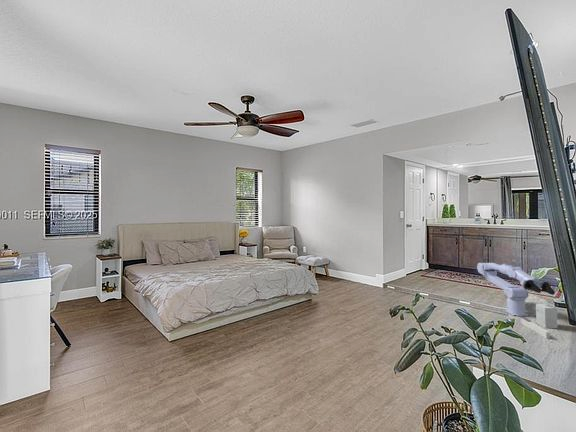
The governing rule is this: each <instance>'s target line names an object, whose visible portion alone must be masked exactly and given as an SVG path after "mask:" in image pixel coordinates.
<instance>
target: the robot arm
mask: <svg viewBox="0 0 576 432" xmlns="http://www.w3.org/2000/svg"><path fill="white" fill-rule="evenodd" d="M476 270H477V272H478V273H479V274H480V275H482V276H483V277H484V278H485V279H486V281H488V282H490V283H491V284H493V285H495V286H496V287H497V288H499V289H502V290H503V294H505V295H506V296H507V299H506V309H505V312H507V313H509V314H511V315H512V316H514V315H516V316H515V317H520V316H523V317H529V316H530V315H529V314H527V313H526V300H527V298H528V297H529V294H530V293H529V290H530V291H533V292H535V293H537V294H540V293H541V292H545V293H547V294H549V295H551V296H553V295H554V294H555V292H556V291H555V290H554V289H553V288H552V287H551V285H550V283H549V282H547V281H544V282H543V281H541V280H539V279H538V277H537V276H532V275H530V274H528V273H527V272H525V271H524V270H523V268H522V267H520V266H514V265H509V264H508V263H502V264H498V263H496V262H478V263H477V265H476ZM497 271H498V272H499V273H501V274H504V275H507V276H508V277H509V278H513V279H516V281H518V282H519V284H520V285H521V286H519V285H514V284H512V283H510V282H508V281H506V280H505V279H504V278H501V277H499V276H498V272H497Z"/></svg>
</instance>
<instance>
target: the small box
mask: <svg viewBox="0 0 576 432" xmlns="http://www.w3.org/2000/svg"><path fill="white" fill-rule="evenodd" d="M535 316H536V317H535V321H536V324H537V325H539V326H540V327H542V328H544V329H558V328H559V327H558V308H557V307H554V306H552V305H550V304H548V303H535Z"/></svg>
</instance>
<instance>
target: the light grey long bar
mask: <svg viewBox="0 0 576 432" xmlns="http://www.w3.org/2000/svg"><path fill="white" fill-rule="evenodd" d="M519 318H520V323H521V324H522V325H524V326H525V327H527V328H528V329H530V330H532V331H533V332H536V333H537V335H540V336H542V337H543V338H545V339H551V332H550V331H549V330H547V329H546V328H544V327H542V326H541V325H539V324H537V323H534V322H532V320H530V319H528V318H527V317H526V316H519Z"/></svg>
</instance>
